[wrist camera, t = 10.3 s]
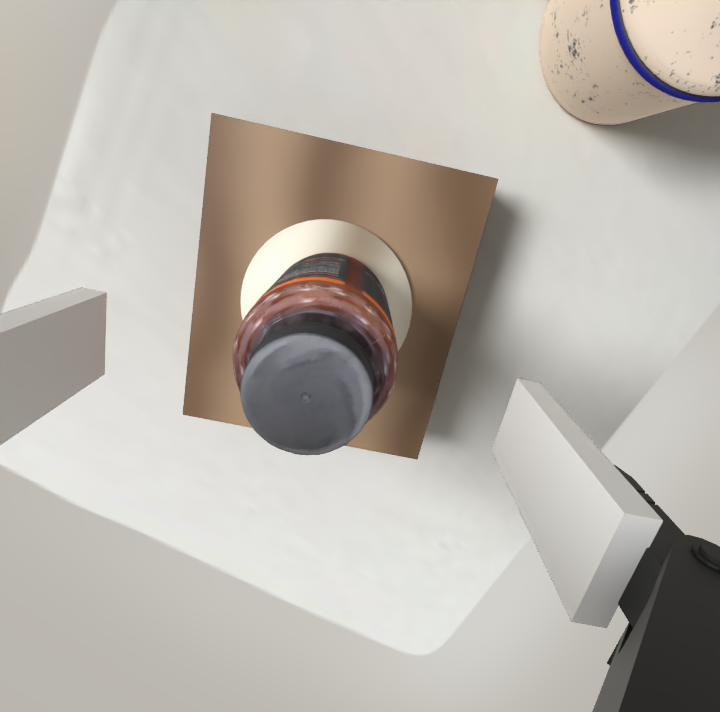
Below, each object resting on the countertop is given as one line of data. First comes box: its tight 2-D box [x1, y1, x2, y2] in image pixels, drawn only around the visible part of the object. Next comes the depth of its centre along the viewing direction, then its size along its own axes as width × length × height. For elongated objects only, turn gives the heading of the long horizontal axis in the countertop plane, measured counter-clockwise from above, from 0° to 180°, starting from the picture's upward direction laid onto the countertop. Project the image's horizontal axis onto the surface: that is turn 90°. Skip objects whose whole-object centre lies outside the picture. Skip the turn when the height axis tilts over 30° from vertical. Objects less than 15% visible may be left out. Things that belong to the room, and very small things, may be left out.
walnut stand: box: [183, 113, 498, 459], centre depth 27 cm, size 14×16×5 cm
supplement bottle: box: [233, 253, 398, 455], centre depth 19 cm, size 6×6×11 cm
